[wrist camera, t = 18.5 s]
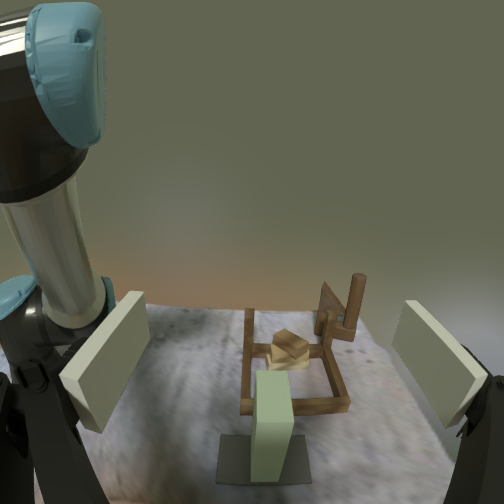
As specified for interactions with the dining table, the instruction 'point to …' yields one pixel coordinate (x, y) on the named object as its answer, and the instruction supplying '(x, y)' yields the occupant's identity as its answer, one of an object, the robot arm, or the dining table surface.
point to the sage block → (270, 425)
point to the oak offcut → (285, 356)
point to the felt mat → (239, 462)
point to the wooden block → (342, 309)
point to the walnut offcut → (290, 343)
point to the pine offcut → (285, 365)
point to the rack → (316, 351)
